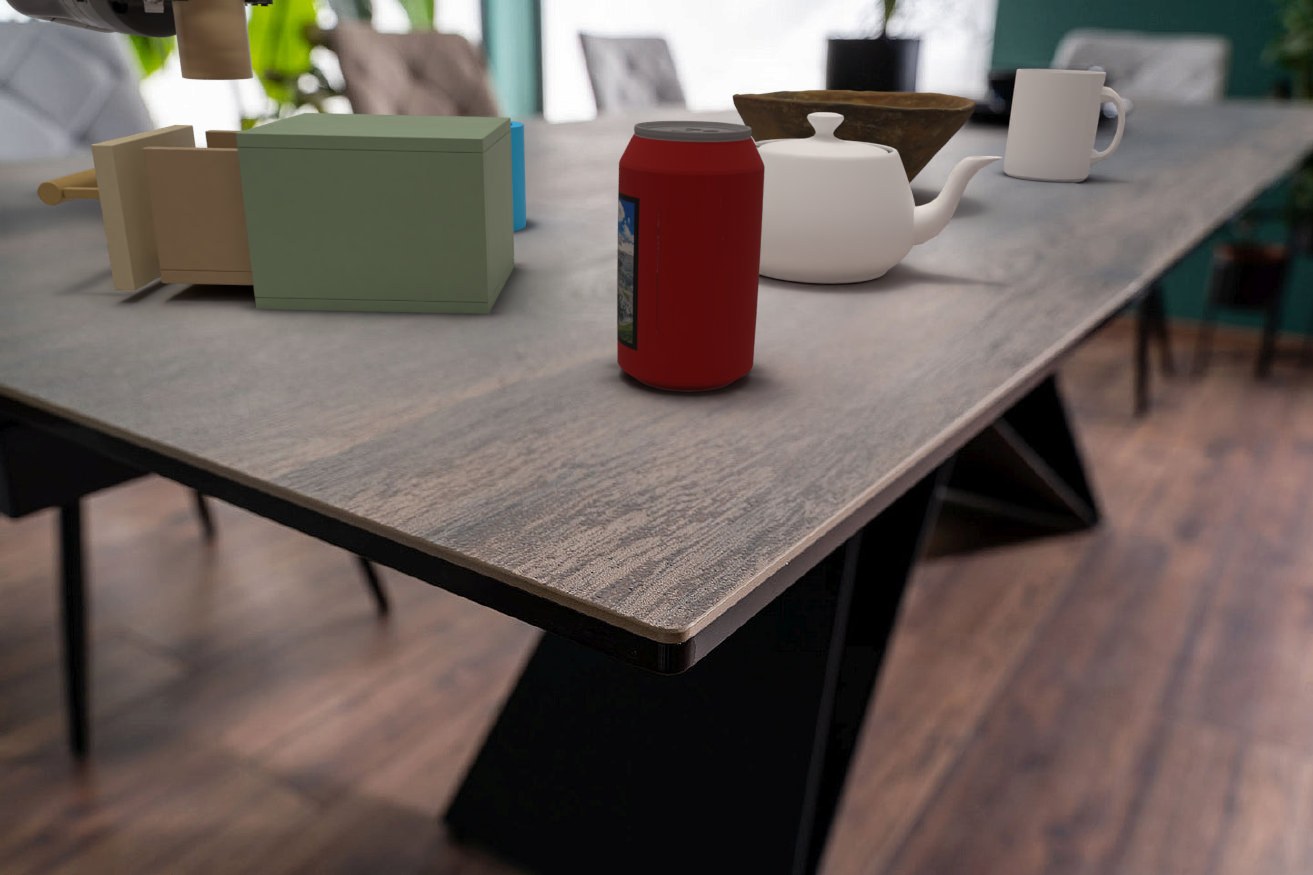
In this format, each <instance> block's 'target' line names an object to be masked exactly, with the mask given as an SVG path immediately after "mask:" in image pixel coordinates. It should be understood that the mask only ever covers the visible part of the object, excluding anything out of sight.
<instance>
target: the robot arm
mask: <svg viewBox="0 0 1313 875" xmlns="http://www.w3.org/2000/svg"><path fill="white" fill-rule="evenodd" d="M5 1H6V2H7V4H8V5H9V6H10V7H11V8H12V9H13V10H15V11H16V12H17V13H19V14H21V15H22V16H26V17H28V18H31V19H32V18H33V19H36V20H41V21H46V22H51V23H55V24H60V25H65V26H70V27H75V28H79V29H84V30H88V31H89V30H90V31H93V32H97V33H105V34H112V33H119V34H122V35H130V36H139V37H148V38H149V37H150V38H170V37H174V36H176V28H175V21H174V13H173V6H172V1H188V0H5ZM249 5H250V6H252V7H253V6H254V7H255V6H256V7H259V5H260V7H269V5H274V0H245V7H248V6H249Z"/></svg>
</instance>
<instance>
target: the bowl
mask: <svg viewBox="0 0 1313 875" xmlns="http://www.w3.org/2000/svg"><path fill="white" fill-rule="evenodd" d="M732 101H733V102H732V103H733V105H734V108H735V109H736V111H737V113H738V115H739V116H740V118H741V120H742V122H743V125H745V126H749V127H751V130H752V133H751V137H752V139H753V141H754V143H755V142H759V141H764V140H775V139H806V138H810V137H812V136H814V135H815V133H816V132H815V129H814V127H813V126H812V125H811V123H810V122H809V121H808V118H807V117H808V114H812V113H816V112H828V113H837V114H840V115H843V117H844V120H843V121H842V123H841V124H840V125H839V126H838V127H837V128H836V129H835V130H834V132H833V135H834V137H836V138H838V139H840V140H845V141H857V142H866V143H873V144H879V145H885V146H888V147H892V148H894V149H896V150H897V151H898V153H899V155H900V158H901V161H902V164H903V167H904V169H905V172H906V175H907V178H908V181H909V184H911V182H912V181H913V180H914V179H915V178H916V177H917V176H918V175H919V174H920V173H921V172H922V171H923V170H924V168H925V167H926V166H927V165H929V163H930V162H931V161H932V160H933V158H934V157H935V156H937V154H938V153H939V152H940V151H941V150H942V149H943V148H944V147H945V146H946V145H947V144H948V142H949V141H950V140H952V138H953V137H954V136H955V135H956V134H957V133H958V132H959V131H960V130H961V129H962V128H963V126H964V125H965V124H966V123H967V122H968V120H969V119H970V117H971V116H972V115H973V113H974V112H975V109H976V107H977V106H976V101H975V100H974V99H970V98H968V97H963V96H959V95H954V94H953V95H952V94H946V93H940V92H915V91H914V92H912V91H911V92H909V91H874V90H865V91H857V90H851V89H841V90H840V89H807V90H806V89H805V90H780V91H772V92H764V93H742V94H740V93H735V94H732Z"/></svg>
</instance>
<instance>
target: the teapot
mask: <svg viewBox="0 0 1313 875" xmlns="http://www.w3.org/2000/svg"><path fill="white" fill-rule="evenodd" d="M807 118H808V121H809V122H810V123H811V125H812V126H813V127H814V129H815V132H816V133H815V135H814V136H812V137H810V138H806V139H775V140H764V141H759V142H755V141H754V143H755V145H756V147H757V150H758V152H759V154H760V156H761V159H762V161H763V163H764V167H765V171H764V193H763V214H762V233H761V251H760V269H759V276H763V277H767V278H771V279H777V280H782V281H787V282H797V283H805V284H834V285H835V284H853V283H861V282H867V281H872V280H874V279H879V278H881V277H883V276H885V274H886V273H888V271H889V270H890V269H892V268H894V267H895V266H896V265H897V264H900V262H901V261H903V260H904V259H905V257H907V255H909V253H910V252H911V250H912V249H913V247H915V246H918V245H919V246H920V245H923V244H925V243H926V242H928V241H930V240H932V239H934V238H935V237H937V236H939V235H940V233H941V232H942V231H943V230H944V229H945V228H946V227H947V226H948V224H949V223H950V222H951V220H952V218H953V216H954V214H955V212H956V210H957V209H958V205H959V203H960V201H961V198H962V196H963V194H964V192H965V191H966V188H967V186H968V184H969V182H970V181H972V179H973V178H974V176H975V175H976V174H977V173H978V172H979V171H980V170H981V169H984V168H985V167H987V166H989V165H990V164H993V163H994V162H996V161H999V160H1001V159H1003V156H997V155H971V156H970V155H969V156H966V157H964V158H963V159H962V160H960V161H959V162H957V164H956V165H955V166H954V167H953V169H952V170H951V172H950V174H949V176H948V178H947V179H946V182H945V184H944V186H943V188H942V190H941V191H940V193H939V194H938V195H937V197H936V198H934V199H933V200H931V201H930V202H928V203H925V204H921V205H916V203H915V198H914V195H913V192H912V188H911V183H909V181H908V178H907V175H906V172H905V169H904V167H903V164H902V161H901V158H900V155H899V153H898V151H897V150H896V149H894V148H892V147H888V146H885V145H879V144H873V143H866V142H857V141H845V140H840V139H838V138H836V137H834V135H833V132H834V130H835V129H836V128H837V127H838V126H839V125H840V124H841V123H842V121H843V120H844V117H843V115H840V114H837V113H828V112H816V113H812V114H808V117H807Z"/></svg>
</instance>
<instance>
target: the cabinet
mask: <svg viewBox="0 0 1313 875" xmlns="http://www.w3.org/2000/svg"><path fill="white" fill-rule="evenodd" d="M511 121H512V119H511V117H504V116H503V117H499V116H496V117H495V116H493V117H492V116H454V115H453V116H452V115H417V114H416V115H414V114H413V115H412V114H374V113H373V114H372V113H371V114H369V113H368V114H367V113H329V112H328V113H326V112H303V113H299V114H295V115H293V116H289V117H286V118H282V119H279V120H275V121H272V122H268V123H265V124H261V125H258V126H255V127H251V128H248V129H244V130H240V131H241V132H237V133H236V139H237V146H238V148H237V149H238V157H239V166H240V175H241V183H242V192H243V200H244V209H245V217H246V226H247V235H248V243H249V252H250V260H251V269H252V277H253V285H252V286H253V292H254V293H253V294H254V300H255V309H256V310H288V311H289V310H291V311H294V310H295V311H296V310H297V311H298V310H299V311H337V312H339V311H340V312H341V311H342V312H384V313H435V314H476V315H478V314H480V315H481V314H483V315H489V314H490V313H491V311H492V309H493V307H494V305H495V303H496V302H497V299H498V297H499V295H500V294H501V292H502V290H503V289H504V287H505V285H506V283H507V281H508V280H509V277H510V276H511V274H512V272H513V270H514V269H515V239H514V238H515V236H514V235H515V234H514V232H515V231H513V193H512V155H511V131H510V130H511Z"/></svg>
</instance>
